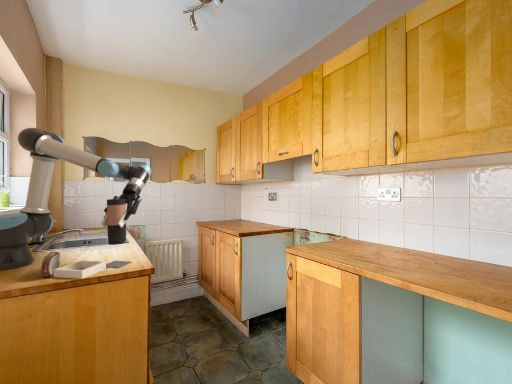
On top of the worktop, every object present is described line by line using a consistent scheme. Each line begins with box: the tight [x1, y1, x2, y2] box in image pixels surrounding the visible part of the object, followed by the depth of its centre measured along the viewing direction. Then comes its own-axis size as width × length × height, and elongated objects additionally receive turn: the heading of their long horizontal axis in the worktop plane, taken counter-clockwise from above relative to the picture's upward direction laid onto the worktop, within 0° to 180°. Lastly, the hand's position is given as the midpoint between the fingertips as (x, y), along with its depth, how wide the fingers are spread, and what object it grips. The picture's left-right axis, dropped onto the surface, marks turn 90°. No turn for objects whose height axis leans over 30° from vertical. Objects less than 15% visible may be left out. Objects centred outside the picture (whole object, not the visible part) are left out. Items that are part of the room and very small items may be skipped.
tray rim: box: [53, 260, 107, 280], centre depth 107 cm, size 13×13×3 cm
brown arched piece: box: [40, 251, 61, 278], centre depth 106 cm, size 15×3×8 cm, turn 24°
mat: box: [106, 260, 132, 269], centre depth 118 cm, size 9×9×1 cm
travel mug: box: [106, 198, 127, 246], centre depth 117 cm, size 8×8×20 cm
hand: (111, 225), depth 114 cm, fingers closed on travel mug, 7 cm apart
